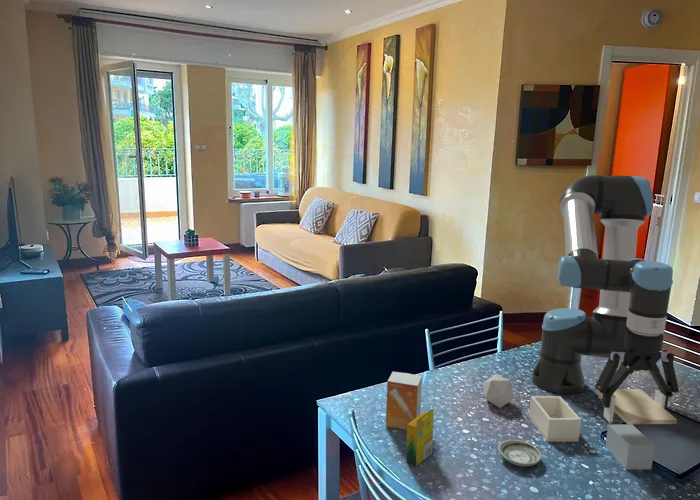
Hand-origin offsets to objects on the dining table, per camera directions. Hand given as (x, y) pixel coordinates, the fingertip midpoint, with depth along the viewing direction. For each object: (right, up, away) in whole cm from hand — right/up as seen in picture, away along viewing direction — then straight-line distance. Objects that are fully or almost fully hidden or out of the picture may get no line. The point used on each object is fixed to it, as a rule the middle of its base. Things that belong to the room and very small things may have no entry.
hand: (632, 418), depth 121 cm
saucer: (-26, -10, +1) cm, 28 cm away
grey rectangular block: (0, -10, +2) cm, 10 cm away
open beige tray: (-13, -7, +14) cm, 20 cm away
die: (-24, -4, +27) cm, 36 cm away
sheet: (0, +3, -1) cm, 3 cm away
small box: (-52, -6, +15) cm, 55 cm away
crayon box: (-50, -10, +1) cm, 51 cm away
